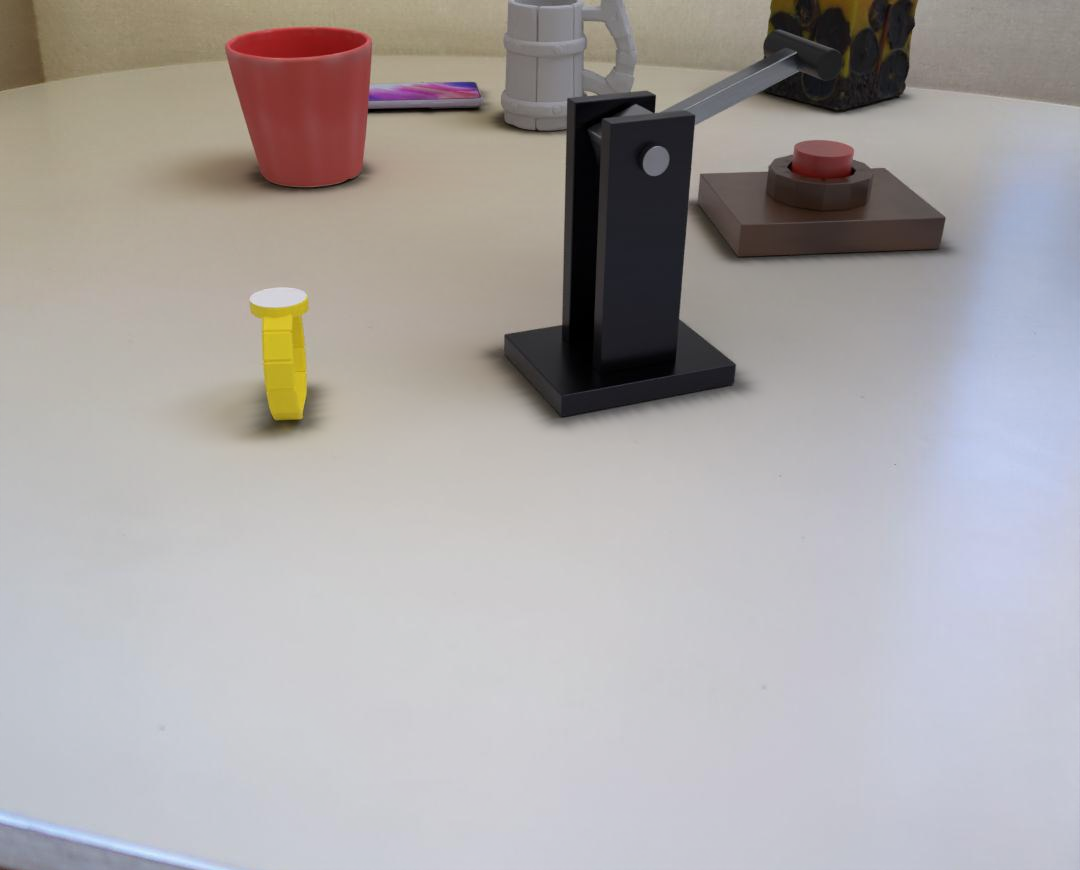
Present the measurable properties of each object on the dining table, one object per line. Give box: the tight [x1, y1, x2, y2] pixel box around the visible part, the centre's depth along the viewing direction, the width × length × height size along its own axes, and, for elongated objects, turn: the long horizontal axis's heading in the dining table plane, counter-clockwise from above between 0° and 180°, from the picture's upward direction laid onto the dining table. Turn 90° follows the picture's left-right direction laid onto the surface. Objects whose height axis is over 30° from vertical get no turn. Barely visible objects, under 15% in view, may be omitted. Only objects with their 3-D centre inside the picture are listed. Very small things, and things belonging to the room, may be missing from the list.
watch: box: [249, 286, 310, 421], centre depth 59 cm, size 6×3×6 cm, turn 5°
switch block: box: [697, 154, 947, 258], centre depth 84 cm, size 14×11×4 cm
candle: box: [762, 0, 919, 111], centre depth 113 cm, size 10×10×10 cm
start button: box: [791, 139, 855, 179], centre depth 82 cm, size 4×4×2 cm
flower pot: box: [224, 26, 373, 188], centre depth 91 cm, size 11×11×10 cm
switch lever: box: [588, 30, 843, 168], centre depth 59 cm, size 12×5×2 cm, turn 113°
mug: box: [500, 0, 638, 132], centre depth 103 cm, size 8×12×12 cm, turn 81°
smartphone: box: [368, 81, 484, 110], centre depth 111 cm, size 7×1×15 cm
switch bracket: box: [503, 90, 737, 417], centre depth 61 cm, size 10×8×14 cm
